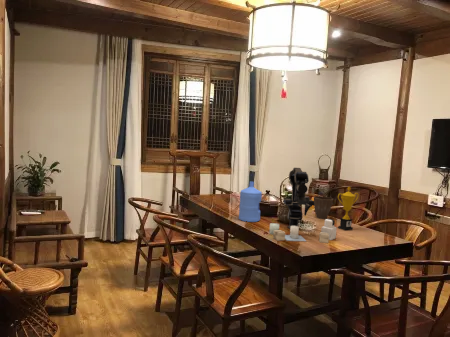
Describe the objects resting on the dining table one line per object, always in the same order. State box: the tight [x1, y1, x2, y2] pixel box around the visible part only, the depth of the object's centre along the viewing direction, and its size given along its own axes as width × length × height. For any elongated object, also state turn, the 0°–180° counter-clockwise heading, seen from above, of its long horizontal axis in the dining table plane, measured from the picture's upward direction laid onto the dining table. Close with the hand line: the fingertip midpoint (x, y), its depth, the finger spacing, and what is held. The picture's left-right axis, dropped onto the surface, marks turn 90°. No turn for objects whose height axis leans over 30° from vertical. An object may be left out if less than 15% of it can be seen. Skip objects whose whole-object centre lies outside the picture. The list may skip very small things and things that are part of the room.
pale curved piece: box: [268, 222, 280, 236], centre depth 238 cm, size 6×6×6 cm
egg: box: [289, 225, 300, 239], centre depth 229 cm, size 5×5×7 cm
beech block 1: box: [272, 229, 286, 242], centre depth 225 cm, size 5×5×5 cm
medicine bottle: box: [320, 218, 338, 241], centre depth 234 cm, size 7×7×12 cm
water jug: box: [238, 181, 263, 223], centre depth 271 cm, size 16×16×28 cm
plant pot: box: [313, 195, 334, 220], centre depth 293 cm, size 15×15×16 cm
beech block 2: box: [318, 231, 330, 244], centre depth 226 cm, size 5×5×5 cm
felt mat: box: [285, 234, 307, 242], centre depth 229 cm, size 12×12×1 cm
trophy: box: [337, 186, 360, 231], centre depth 260 cm, size 19×10×30 cm, turn 116°
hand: (297, 215), depth 239 cm, fingers open, 9 cm apart
